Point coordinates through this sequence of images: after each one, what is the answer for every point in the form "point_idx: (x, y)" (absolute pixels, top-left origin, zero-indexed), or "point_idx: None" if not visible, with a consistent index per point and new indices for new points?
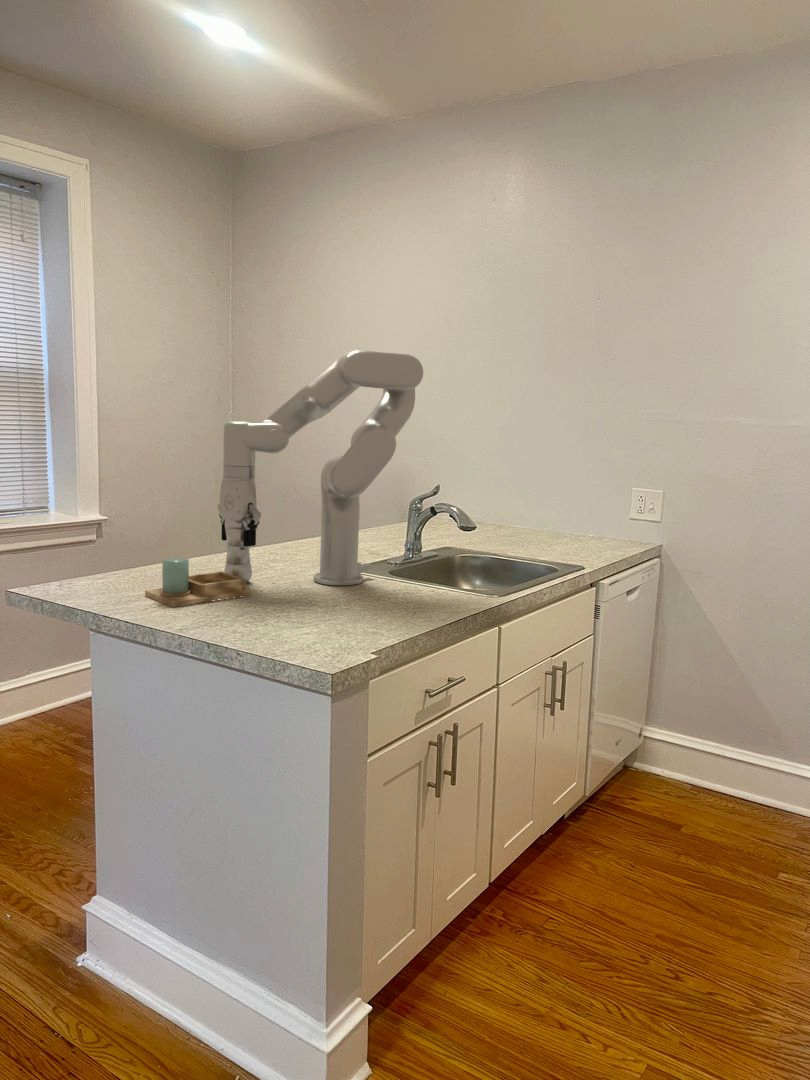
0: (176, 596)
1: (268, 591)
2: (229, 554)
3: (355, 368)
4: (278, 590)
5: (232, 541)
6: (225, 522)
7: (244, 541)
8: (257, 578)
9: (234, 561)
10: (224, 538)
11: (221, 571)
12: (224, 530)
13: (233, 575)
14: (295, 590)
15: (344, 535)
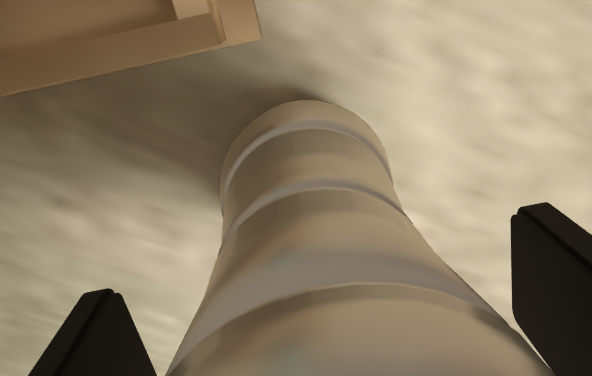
0: None
1: (52, 230)
2: (287, 164)
3: None
4: (65, 277)
5: (245, 237)
6: (406, 351)
7: (63, 323)
8: None
9: (241, 171)
10: (521, 231)
11: (213, 44)
12: (578, 286)
13: (55, 80)
14: (51, 339)
15: None
